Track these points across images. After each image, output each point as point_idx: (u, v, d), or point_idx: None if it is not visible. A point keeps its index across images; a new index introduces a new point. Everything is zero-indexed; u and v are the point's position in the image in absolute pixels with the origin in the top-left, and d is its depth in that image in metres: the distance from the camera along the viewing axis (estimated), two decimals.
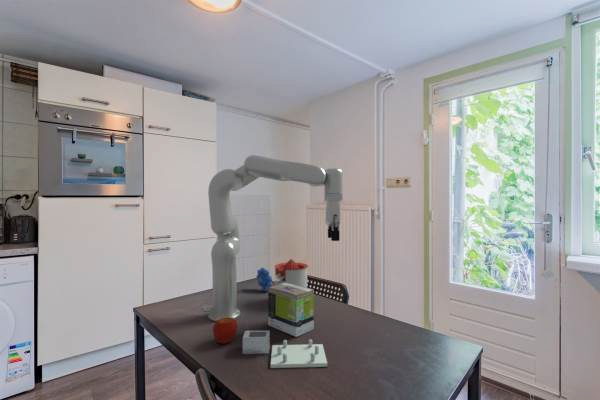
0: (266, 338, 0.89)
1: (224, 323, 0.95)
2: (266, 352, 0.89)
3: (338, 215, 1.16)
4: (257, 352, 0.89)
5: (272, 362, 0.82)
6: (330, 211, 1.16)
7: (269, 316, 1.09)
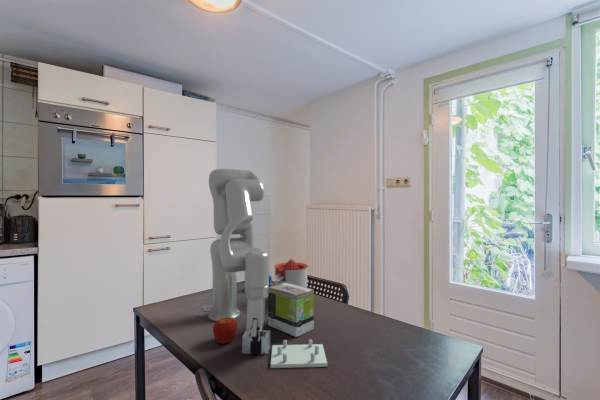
0: (265, 338, 0.89)
1: (224, 323, 0.95)
2: (265, 352, 0.89)
3: (259, 319, 0.87)
4: None
5: (272, 362, 0.82)
6: (248, 313, 0.87)
7: (269, 316, 1.09)
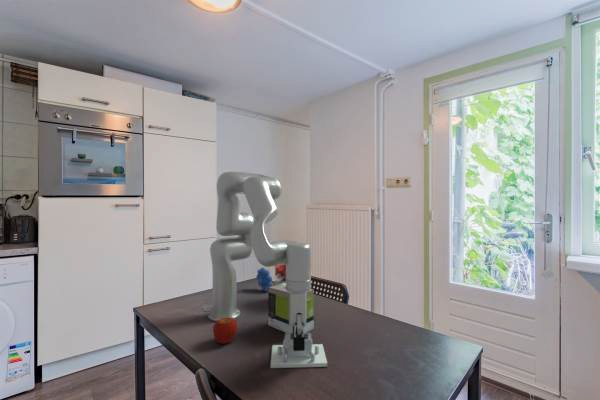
0: (309, 341, 0.85)
1: (224, 323, 0.95)
2: (309, 356, 0.85)
3: (303, 314, 0.82)
4: (299, 355, 0.85)
5: (272, 362, 0.82)
6: (292, 308, 0.82)
7: (269, 316, 1.09)
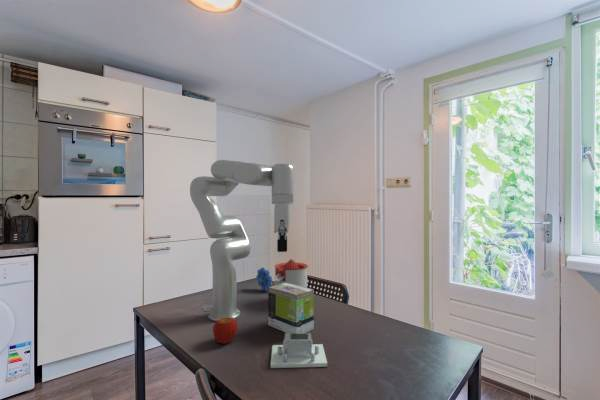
0: (309, 341, 0.85)
1: (224, 323, 0.95)
2: (309, 356, 0.85)
3: (286, 220, 0.95)
4: (299, 355, 0.85)
5: (272, 362, 0.82)
6: (276, 215, 0.95)
7: (269, 316, 1.09)
